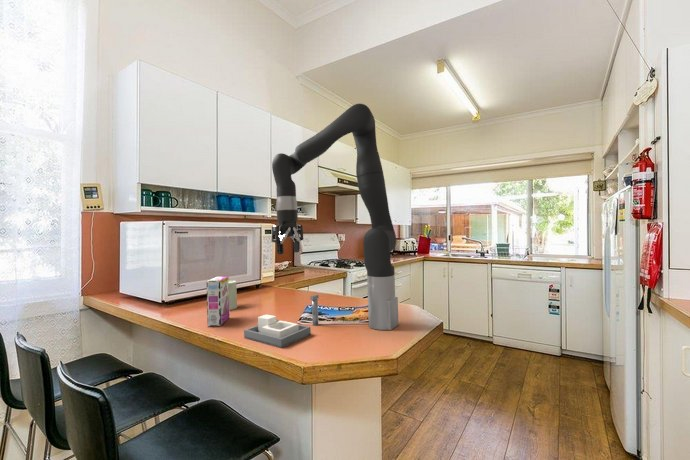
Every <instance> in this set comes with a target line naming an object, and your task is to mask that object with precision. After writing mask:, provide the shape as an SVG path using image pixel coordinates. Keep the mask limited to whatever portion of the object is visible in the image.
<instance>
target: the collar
mask: <svg viewBox="0 0 690 460" xmlns="http://www.w3.org/2000/svg"><path fill="white" fill-rule="evenodd" d="M276 320H277V316H275V315H272V314H271V315H270V314H267V313H266V314H263V315H260V316H258V317H257V325H258V332H259V333H263V334H267V335H271V336H275V337H279V338H283V337H285V336H287V335H290V334H292V333H294V332H297V331H299V325H300V324H299V323H295V322H289V321H285V320H279V321H278V322H276Z"/></svg>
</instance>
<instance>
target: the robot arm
mask: <svg viewBox="0 0 690 460" xmlns="http://www.w3.org/2000/svg"><path fill="white" fill-rule="evenodd" d="M376 132H377V131H376V120H375V117H374V114H373V112H372V111H371V109H370V108H369V107H368V105H367V104H364V103H355V104H353V105H351V106H350V107H349V108H347V109H346V110H345V111H344V112H342V113H341V114H340V115H339V116H338V117H337V118H335V119H334V120H333V121H332V122H330V124H328V125H326V127H324V128H323V129H322V130H320V131H319V132H317V133H316V134H315V135H314V134H313V136H311V137H309V138H308V139H306V140H305V141H303V142H302V143H299V144H298V145H297V146H296V147H295V149H294V152H293V153H291V154H290V155H288V154H286V153H278V154H275V156H274V157H273V159H272V162H271V163H272V164H271V166H272V167H271V168H272V169H271V170H272V173H273V174H272V176H273V178H274V182H275V184H276V188H275V189H276V203H275V204H276V221H277V222H278V224H277V225H276V224H275V225H272V226H271V242H272V243H275V244H276V253H277V255H284V241H285V240H286V239H287V238H290V239H292V241H293V244H292V245H293V253H300V248H301V247H300V244H301V241H304V230H303V224H297V222H298V221H299V218H298V202H297V187H296V183H295V181H294V180H293V179H292V175H294V174H297V173H298V172H299V171H300V170H302V168H304V167H305V166H306V165H307V164H308V163H310V162H311V161H314V160H315V159H317V158H319V157H320V156H322V155H323V154H325V153H326V152H327V151H328V150H329V149H330V148H331V147H332V146H333V145H334V144H335V143H336V142H337V141H338V140H340V139H341V138H343V137H345V136H346V135H349V134H351V133H352V136H353V140H354V143H355V147H356V148H355V149H356V165H355V167H356V168H355V169H356V171H355V172H356V173H355V174H356V181H357V186H358V191H359V195H360V197H361V199H362V202H363V203H364V206H365V207H366V209H367V212H368V213H369V218H370V225H371V228H370V229H368V230H367V231H365V234H364V236H363V242H362V243H363V244H362V245H363V261H364V262H363V263H364V268H365V269H366V275H367V276H366V278H367V311H368V312H367V313H368V314H367V315H368V327H369V328H370V329H374V330H380V331H386V330H388V331H391V330H393V329H395V328H396V327H398V326H400V325H399V298H398V296H396V275H395V274H396V273H395V272H396V271H395V266H394V265H393V264H392V262H391V252H392V251H394V249H395V247H396V245H397V235H396V231H395V229H394V226H393V225H394V224H393V220H392V217H391V213H390V208H389V200H388V195H387V188H386V180H385V177H384V171H383V170H384V169H383V165H382V161H381V158H380V154H379V151H378V150H379V149H378V146H377V135H376V134H377V133H376Z"/></svg>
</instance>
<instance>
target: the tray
mask: <svg viewBox="0 0 690 460" xmlns="http://www.w3.org/2000/svg"><path fill="white" fill-rule="evenodd" d="M278 321H280V320H277V319H276V322H278ZM311 333H312V332H311V326H307V325H301V324H299V331H297V332H294V333H292V334H290V335H287V336H285V337H283V338H279V337H275V336H271V335H267V334H263V333H259V332H258V324H256V325H255V326H254V325H253V326H252V327H248V328H246V329H243V338H244V339H245V340H251V341H254V342H258V343H261V344H265V345H269V346H272V347H275V346H276V347H277V348H279V349H282V348H283V349H284V348H285V347H287V346H289V345H291V344H294V343H296V342H299V341H300V340H303V339H305V338H307V337H309V336H311V335H312V334H311Z"/></svg>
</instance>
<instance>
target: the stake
mask: <svg viewBox="0 0 690 460" xmlns="http://www.w3.org/2000/svg"><path fill="white" fill-rule="evenodd" d="M309 297H310V301H311V313H312V315H311V317H312V326H319V305H318V299H320V295H319V294H313V295H310V296H309Z"/></svg>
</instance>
